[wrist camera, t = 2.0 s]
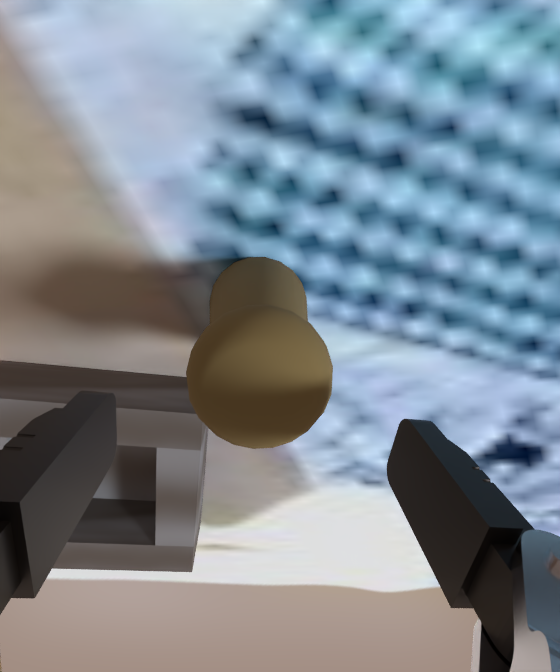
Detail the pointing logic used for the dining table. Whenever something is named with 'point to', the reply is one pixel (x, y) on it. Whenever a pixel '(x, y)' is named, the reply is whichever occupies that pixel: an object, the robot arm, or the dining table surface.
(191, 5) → the dining table surface
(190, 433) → the square holder
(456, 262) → the dining table surface
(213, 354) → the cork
